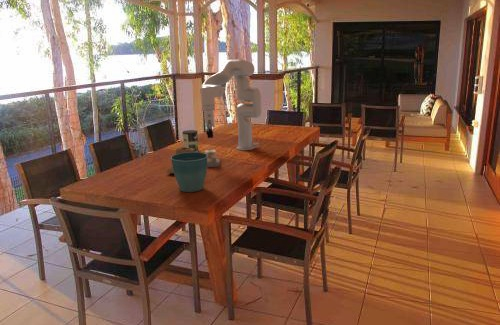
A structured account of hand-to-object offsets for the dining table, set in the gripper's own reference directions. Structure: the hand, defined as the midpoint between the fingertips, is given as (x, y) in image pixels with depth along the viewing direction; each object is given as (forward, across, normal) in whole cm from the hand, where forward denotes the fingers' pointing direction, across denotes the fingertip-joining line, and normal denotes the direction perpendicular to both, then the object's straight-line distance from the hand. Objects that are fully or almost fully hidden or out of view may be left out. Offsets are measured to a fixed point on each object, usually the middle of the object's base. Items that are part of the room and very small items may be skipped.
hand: (209, 136), depth 262 cm
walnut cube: (+18, +14, -1) cm, 23 cm away
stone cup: (+18, -15, +17) cm, 29 cm away
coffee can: (+18, +40, +11) cm, 45 cm away
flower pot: (+17, -46, +13) cm, 51 cm away
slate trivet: (+18, 0, 0) cm, 18 cm away
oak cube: (+15, 0, 0) cm, 15 cm away
